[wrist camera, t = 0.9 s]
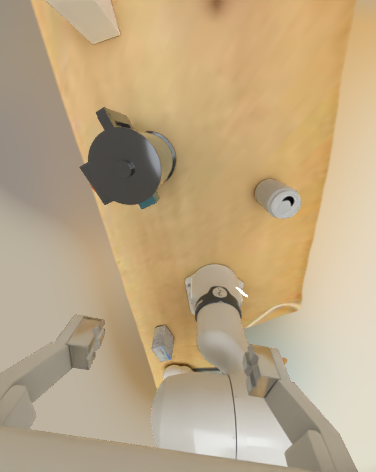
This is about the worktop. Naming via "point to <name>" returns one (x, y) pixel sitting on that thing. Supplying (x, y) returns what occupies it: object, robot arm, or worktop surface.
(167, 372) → the cat figurine
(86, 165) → the jug
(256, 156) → the worktop surface
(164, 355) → the medicine box
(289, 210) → the beverage can
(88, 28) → the milk
